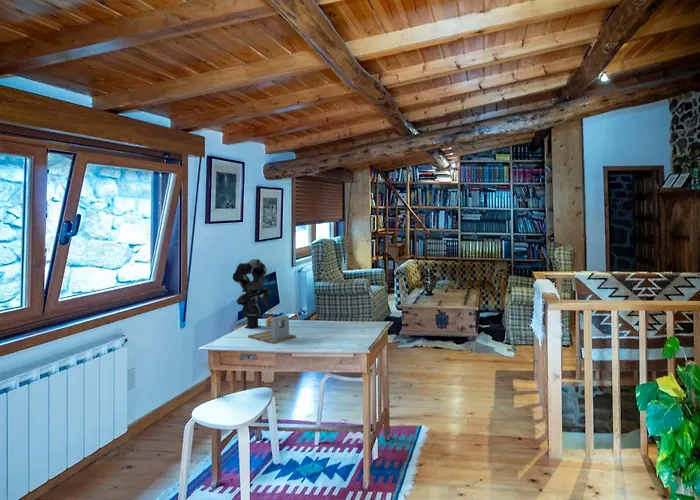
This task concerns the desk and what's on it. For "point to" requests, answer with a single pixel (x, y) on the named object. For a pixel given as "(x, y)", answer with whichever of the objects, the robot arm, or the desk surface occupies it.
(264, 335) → the walnut board
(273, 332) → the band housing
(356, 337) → the desk surface
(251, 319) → the robot arm
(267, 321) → the gold rounded piece
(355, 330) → the desk surface
